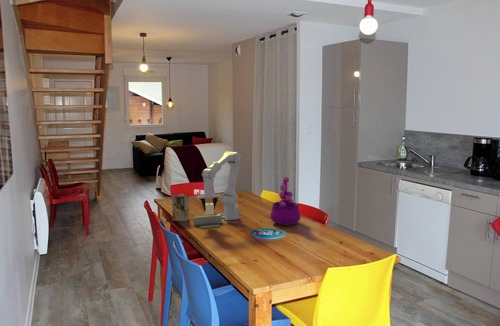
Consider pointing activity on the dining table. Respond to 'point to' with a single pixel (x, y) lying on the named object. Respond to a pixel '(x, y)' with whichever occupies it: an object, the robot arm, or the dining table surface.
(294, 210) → the decorative plant
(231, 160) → the robot arm
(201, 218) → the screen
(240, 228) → the dining table surface
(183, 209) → the coffee box
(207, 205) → the letter block
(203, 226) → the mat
